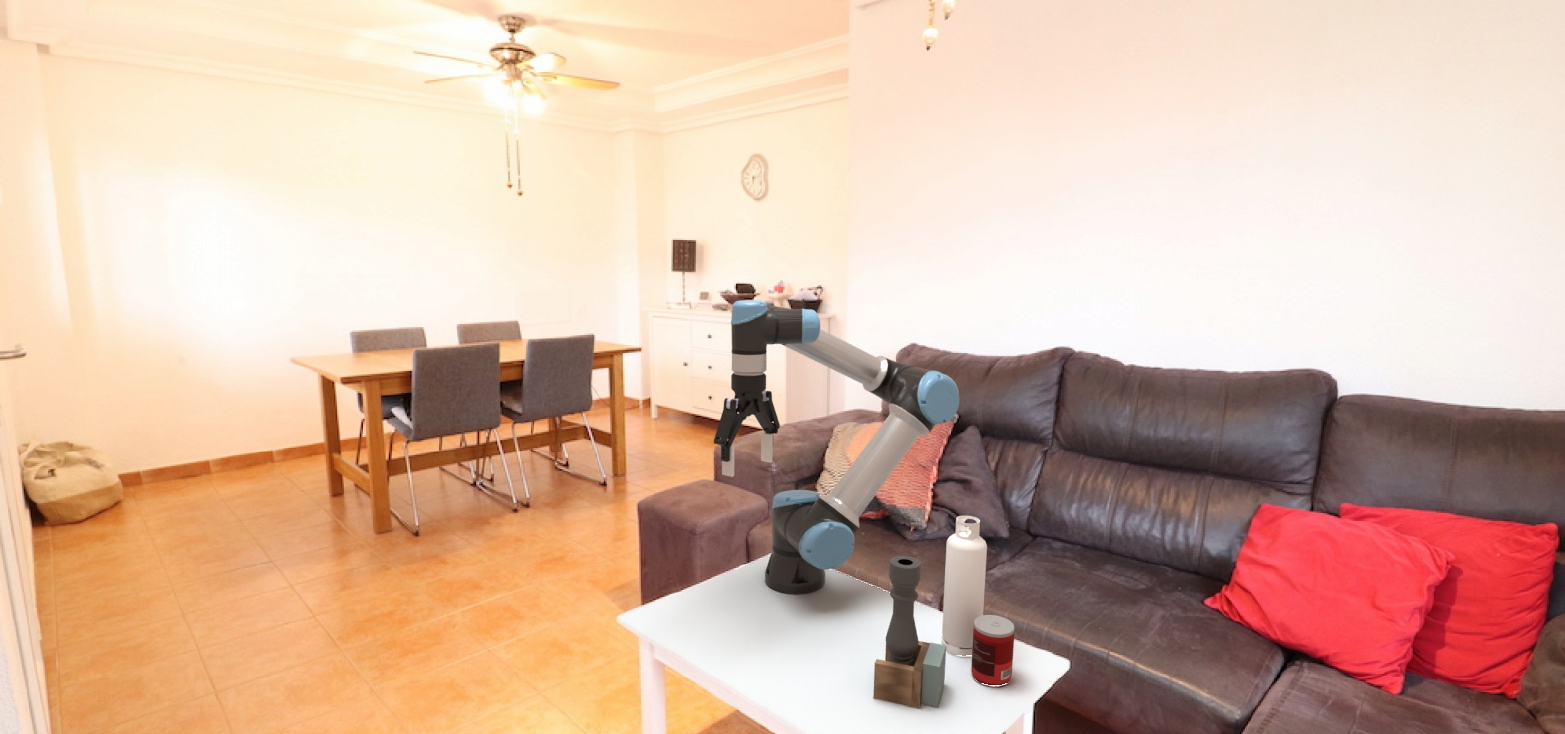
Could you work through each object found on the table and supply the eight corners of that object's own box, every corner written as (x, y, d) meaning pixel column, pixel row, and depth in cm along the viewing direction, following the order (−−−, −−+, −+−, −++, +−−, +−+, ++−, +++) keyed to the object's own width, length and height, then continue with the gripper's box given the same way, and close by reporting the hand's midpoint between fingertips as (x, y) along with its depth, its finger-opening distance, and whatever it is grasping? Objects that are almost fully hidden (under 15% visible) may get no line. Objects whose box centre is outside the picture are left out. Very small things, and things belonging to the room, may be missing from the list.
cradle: (873, 697, 136) (874, 662, 135) (886, 667, 147) (887, 634, 145) (919, 708, 133) (920, 672, 132) (929, 676, 144) (930, 643, 143)
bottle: (935, 648, 154) (941, 520, 150) (951, 633, 160) (957, 510, 156) (971, 661, 149) (979, 529, 145) (986, 645, 156) (994, 518, 151)
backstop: (921, 704, 135) (923, 663, 134) (928, 680, 142) (930, 642, 141) (937, 707, 134) (939, 666, 132) (944, 684, 141) (946, 645, 140)
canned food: (1010, 668, 147) (1014, 617, 145) (1012, 691, 139) (1015, 637, 137) (971, 662, 149) (974, 611, 147) (970, 684, 141) (973, 631, 140)
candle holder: (916, 698, 136) (922, 570, 133) (882, 693, 138) (887, 567, 134) (916, 679, 142) (922, 557, 139) (884, 675, 144) (889, 553, 140)
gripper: (769, 364, 170) (768, 453, 173) (696, 377, 150) (696, 478, 153) (796, 367, 166) (794, 459, 169) (724, 381, 146) (724, 485, 149)
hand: (748, 468), depth 161 cm, fingers open, 13 cm apart
